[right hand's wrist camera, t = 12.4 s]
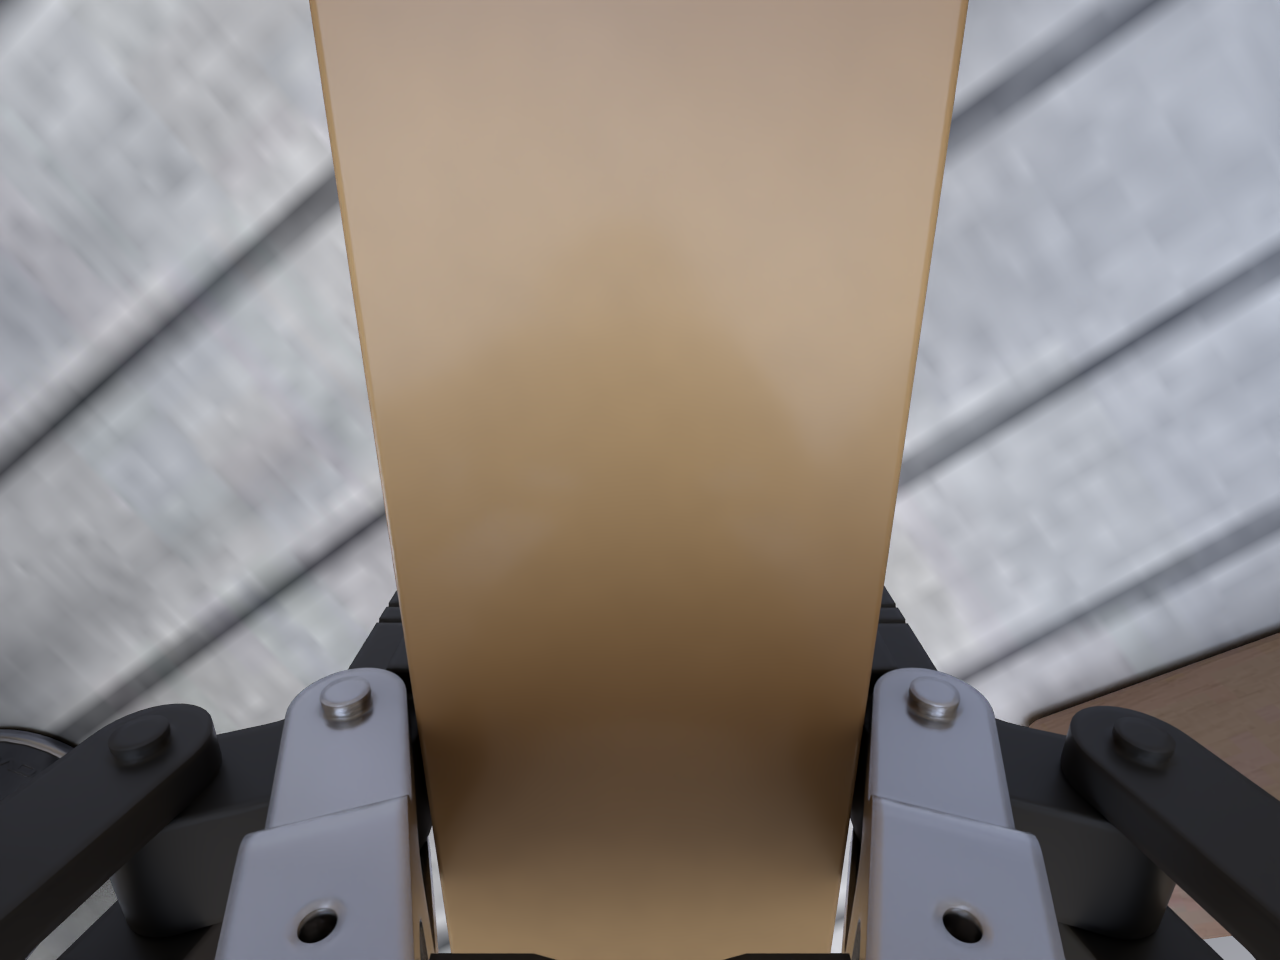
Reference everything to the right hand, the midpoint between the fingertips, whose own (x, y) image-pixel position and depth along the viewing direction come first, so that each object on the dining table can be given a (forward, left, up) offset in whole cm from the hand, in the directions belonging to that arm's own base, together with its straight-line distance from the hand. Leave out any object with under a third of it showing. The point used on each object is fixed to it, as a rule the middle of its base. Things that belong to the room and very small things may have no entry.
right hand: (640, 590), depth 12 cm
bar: (+8, +5, -3) cm, 10 cm away
